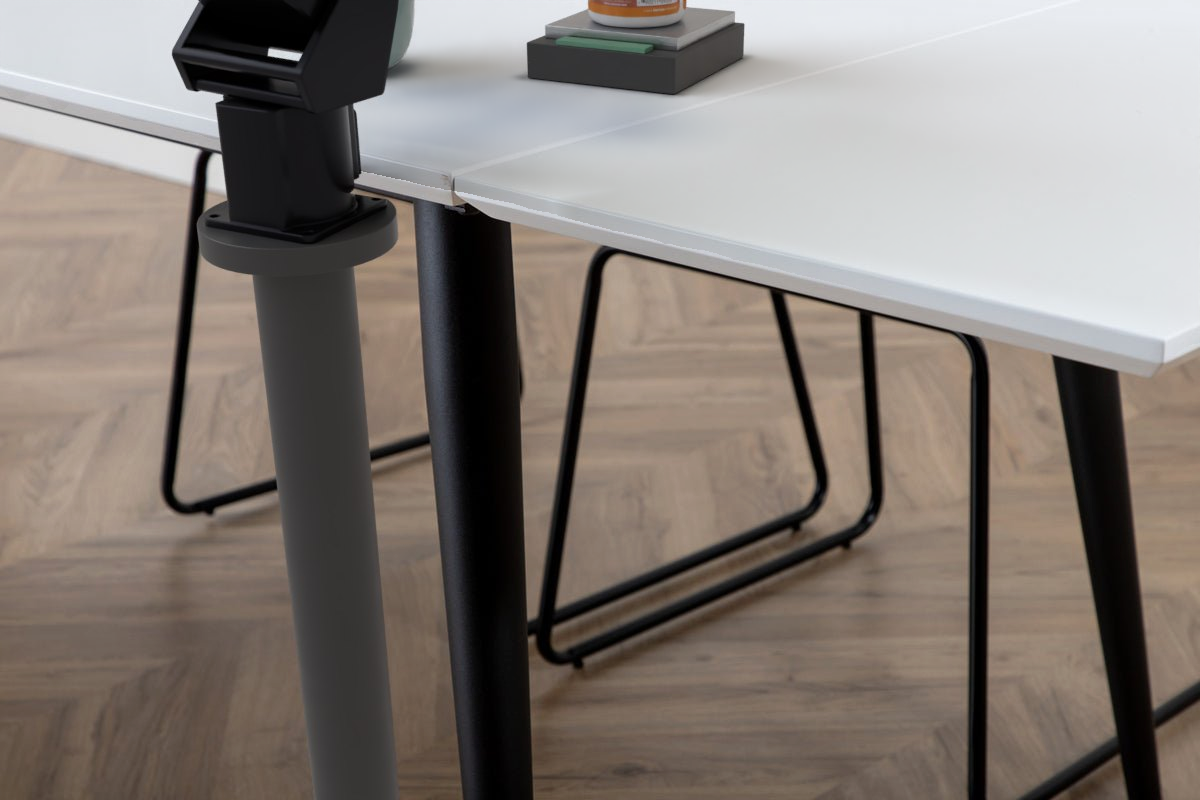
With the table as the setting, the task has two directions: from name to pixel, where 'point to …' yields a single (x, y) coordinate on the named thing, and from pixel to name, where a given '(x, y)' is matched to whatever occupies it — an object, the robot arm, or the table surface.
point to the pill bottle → (636, 12)
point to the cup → (402, 31)
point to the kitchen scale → (637, 51)
